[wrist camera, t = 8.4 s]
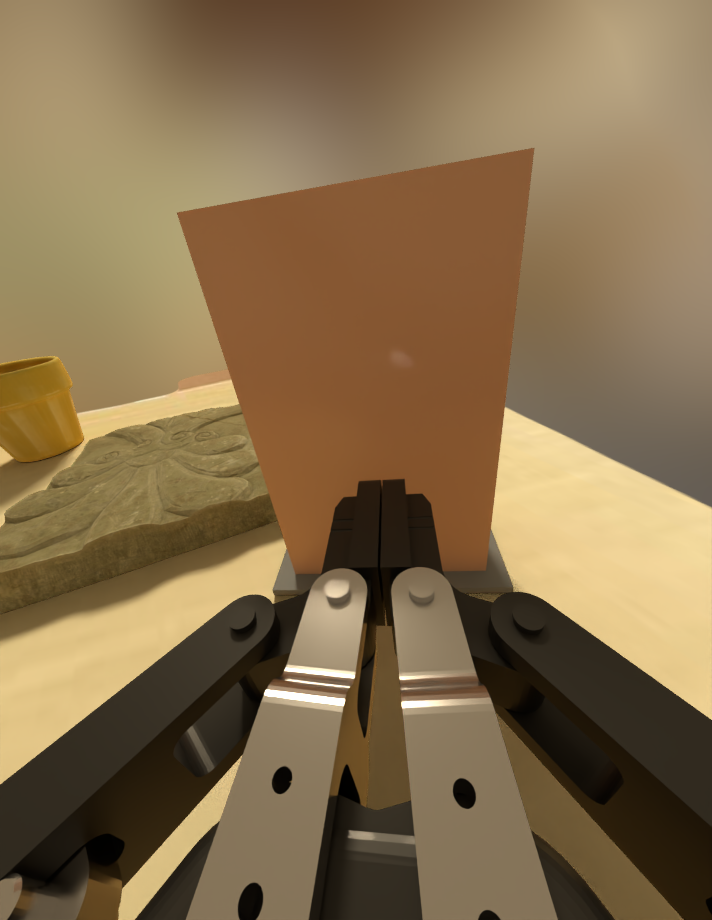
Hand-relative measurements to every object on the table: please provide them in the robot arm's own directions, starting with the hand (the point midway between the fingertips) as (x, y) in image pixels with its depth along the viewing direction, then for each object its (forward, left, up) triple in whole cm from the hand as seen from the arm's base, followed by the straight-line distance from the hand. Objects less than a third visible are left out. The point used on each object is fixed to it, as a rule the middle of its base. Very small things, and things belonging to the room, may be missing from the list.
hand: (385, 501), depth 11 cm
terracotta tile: (0, +5, -7) cm, 9 cm away
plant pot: (-36, +30, -8) cm, 47 cm away
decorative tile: (-17, +17, -8) cm, 25 cm away
